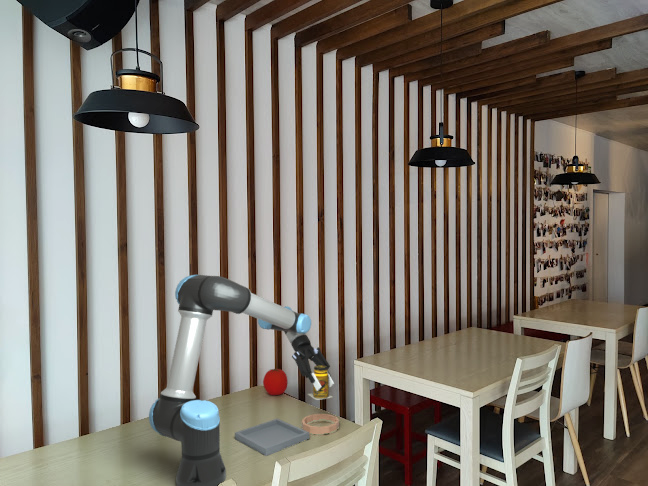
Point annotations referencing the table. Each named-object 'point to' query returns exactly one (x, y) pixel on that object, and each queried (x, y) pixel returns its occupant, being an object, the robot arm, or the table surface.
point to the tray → (271, 436)
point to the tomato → (275, 382)
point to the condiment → (321, 383)
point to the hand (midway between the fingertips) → (325, 387)
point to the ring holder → (324, 428)
